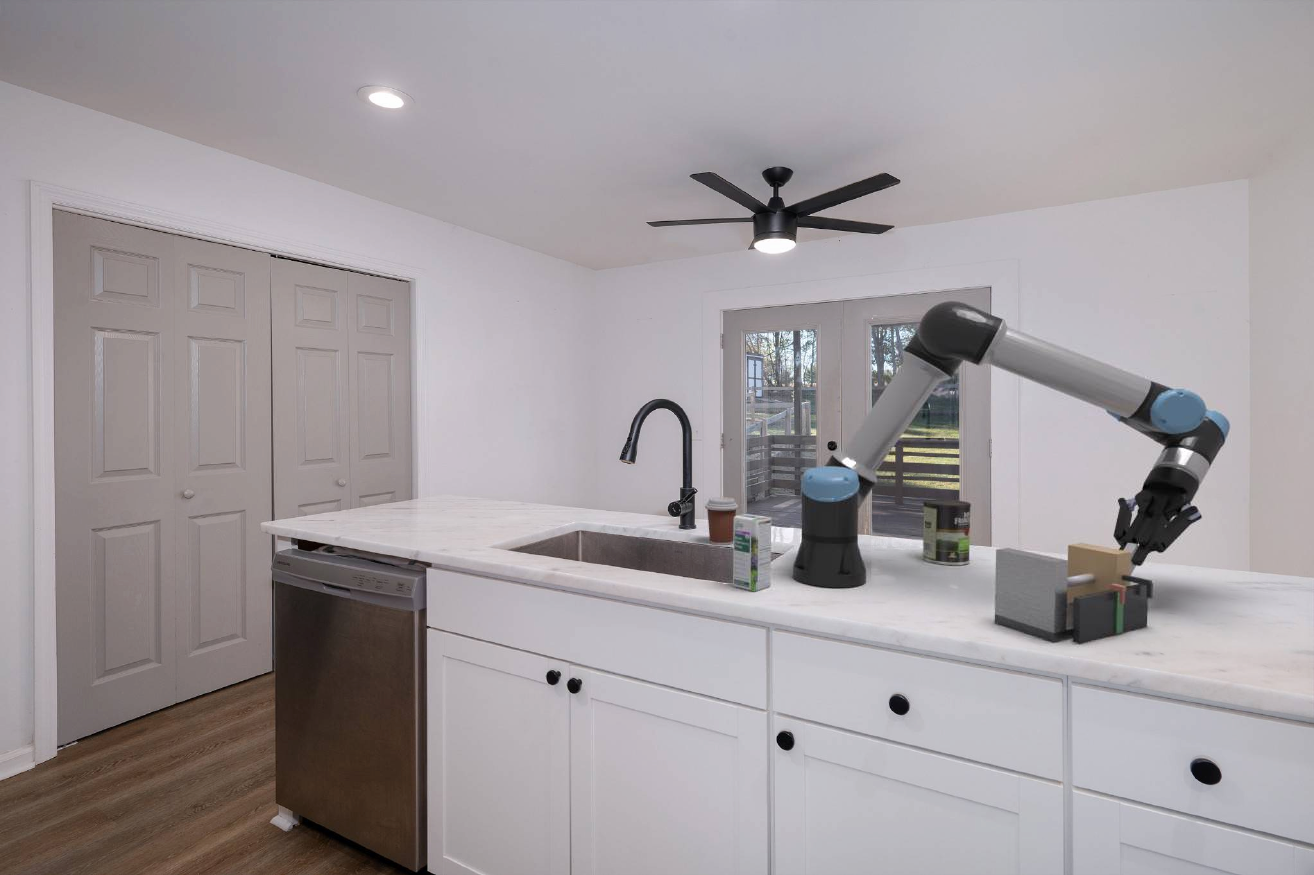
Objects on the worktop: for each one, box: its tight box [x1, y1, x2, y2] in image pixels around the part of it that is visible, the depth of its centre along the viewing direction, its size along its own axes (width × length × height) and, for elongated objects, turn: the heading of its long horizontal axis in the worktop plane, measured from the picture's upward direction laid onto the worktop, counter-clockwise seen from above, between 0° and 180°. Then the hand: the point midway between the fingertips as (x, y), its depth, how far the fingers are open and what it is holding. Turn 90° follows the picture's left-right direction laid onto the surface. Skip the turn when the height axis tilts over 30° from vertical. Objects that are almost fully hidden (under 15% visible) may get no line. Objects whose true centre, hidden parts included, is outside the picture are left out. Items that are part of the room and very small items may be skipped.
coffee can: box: [922, 499, 972, 566], centre depth 148 cm, size 10×10×14 cm
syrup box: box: [732, 513, 772, 593], centre depth 127 cm, size 6×6×14 cm
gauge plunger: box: [1067, 542, 1154, 602], centre depth 105 cm, size 10×12×10 cm
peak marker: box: [1111, 584, 1126, 604], centre depth 98 cm, size 1×2×3 cm, turn 25°
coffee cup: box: [704, 496, 740, 546], centre depth 169 cm, size 9×9×12 cm
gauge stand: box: [994, 547, 1149, 645], centre depth 104 cm, size 22×12×12 cm, turn 115°
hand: (1119, 576), depth 110 cm, fingers closed
